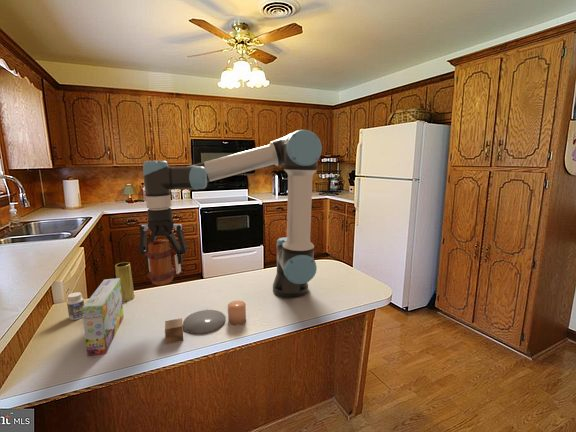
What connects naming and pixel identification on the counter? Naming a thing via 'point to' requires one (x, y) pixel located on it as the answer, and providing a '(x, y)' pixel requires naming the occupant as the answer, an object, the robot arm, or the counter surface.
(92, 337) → the snack box
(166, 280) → the mug
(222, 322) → the gray ellipsoid
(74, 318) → the pill bottle
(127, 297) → the vase
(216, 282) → the counter surface
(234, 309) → the peach rounded cylinder
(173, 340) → the walnut block
